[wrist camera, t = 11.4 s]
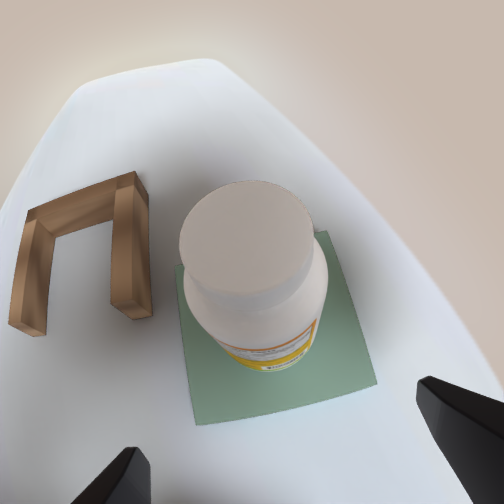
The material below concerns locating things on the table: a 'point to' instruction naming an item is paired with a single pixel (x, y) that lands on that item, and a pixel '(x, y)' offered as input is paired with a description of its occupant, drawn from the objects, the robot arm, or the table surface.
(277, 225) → the supplement bottle
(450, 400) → the robot arm
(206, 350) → the green mat
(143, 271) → the frame
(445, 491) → the table surface
